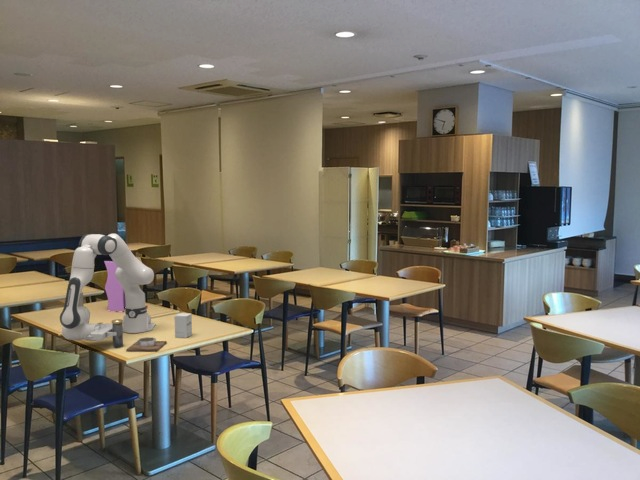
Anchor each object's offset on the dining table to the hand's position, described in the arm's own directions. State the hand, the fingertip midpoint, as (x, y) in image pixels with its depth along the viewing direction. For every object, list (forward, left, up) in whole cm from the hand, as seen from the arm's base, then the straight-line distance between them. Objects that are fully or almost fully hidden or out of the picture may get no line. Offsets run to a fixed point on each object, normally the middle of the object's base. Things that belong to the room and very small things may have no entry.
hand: (119, 332), depth 291 cm
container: (-91, -37, -8) cm, 98 cm away
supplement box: (-22, +28, -8) cm, 37 cm away
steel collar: (+1, +15, -7) cm, 17 cm away
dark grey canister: (0, -1, -8) cm, 8 cm away
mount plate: (+1, +15, -8) cm, 17 cm away
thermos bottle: (-36, -41, -8) cm, 55 cm away
